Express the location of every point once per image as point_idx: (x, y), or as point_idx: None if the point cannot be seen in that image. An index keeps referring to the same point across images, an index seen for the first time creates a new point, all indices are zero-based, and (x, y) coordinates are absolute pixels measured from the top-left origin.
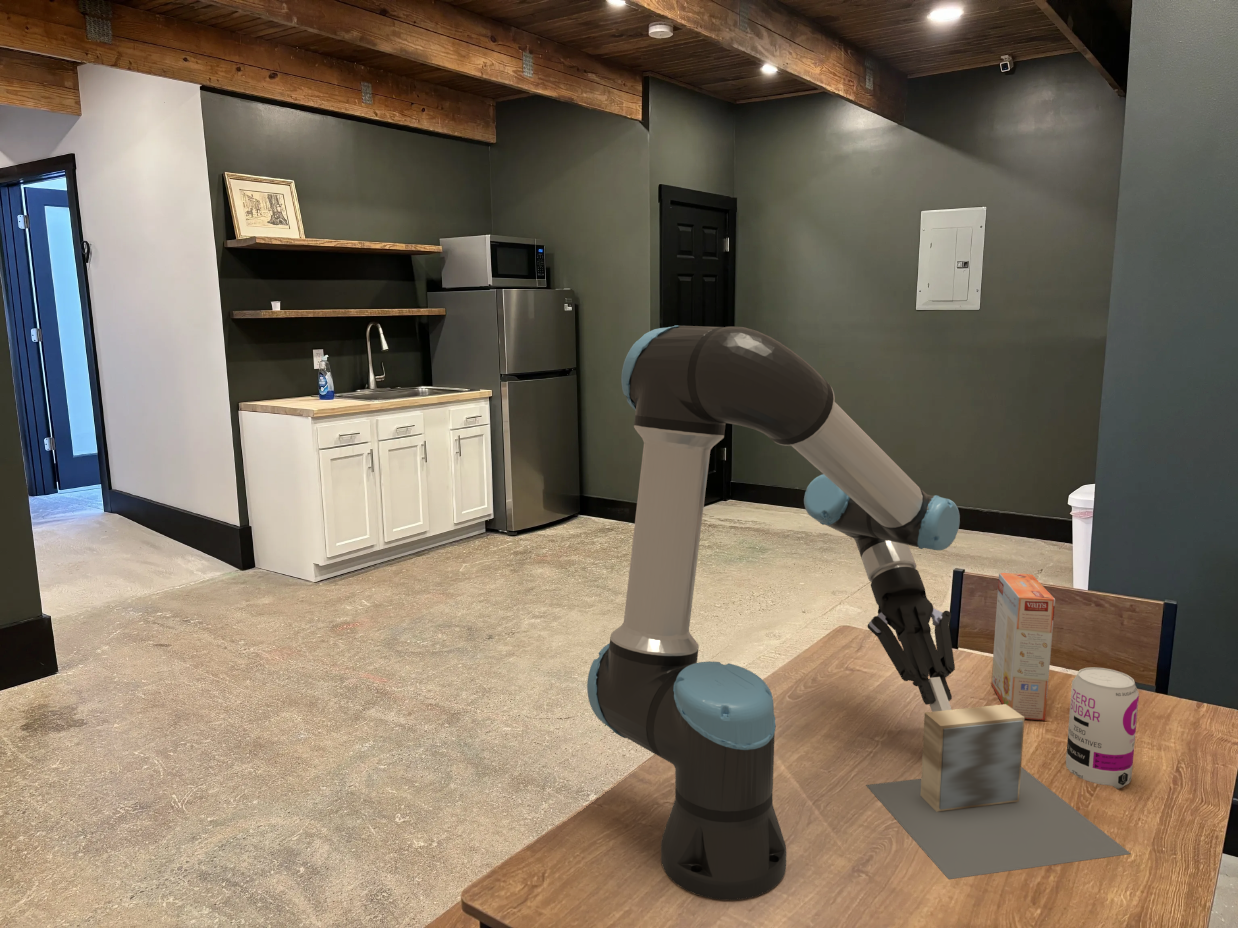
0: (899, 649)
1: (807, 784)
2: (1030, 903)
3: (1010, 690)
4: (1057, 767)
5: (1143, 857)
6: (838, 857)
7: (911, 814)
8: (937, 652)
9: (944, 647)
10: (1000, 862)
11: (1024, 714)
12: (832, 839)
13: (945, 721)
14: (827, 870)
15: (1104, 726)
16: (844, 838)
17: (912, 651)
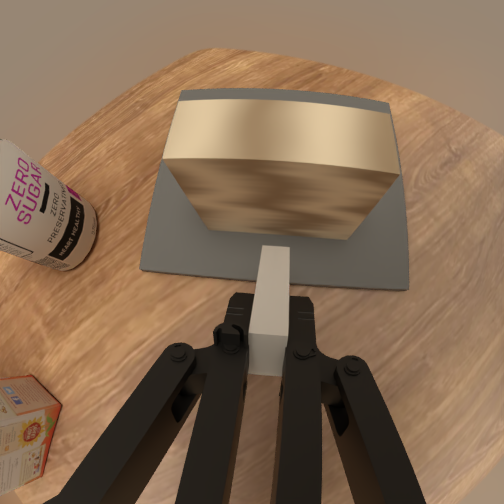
0: (384, 451)
1: (461, 327)
2: (323, 74)
3: (34, 415)
4: (91, 269)
5: (167, 99)
6: (468, 177)
7: (381, 202)
8: (197, 417)
9: (149, 425)
10: (325, 102)
11: (44, 392)
12: (468, 205)
13: (370, 124)
14: (478, 166)
15: (41, 166)
16: (458, 202)
17: (320, 444)
